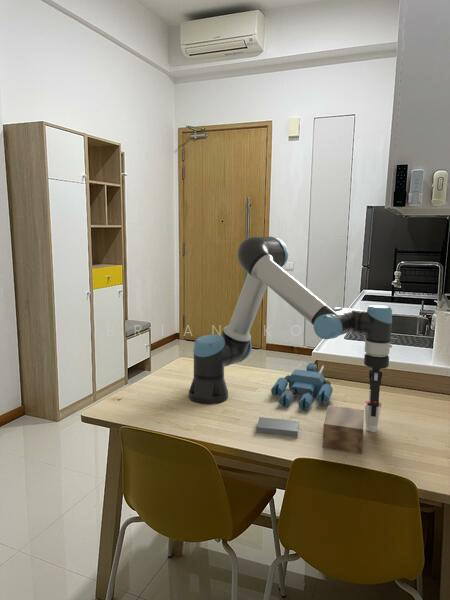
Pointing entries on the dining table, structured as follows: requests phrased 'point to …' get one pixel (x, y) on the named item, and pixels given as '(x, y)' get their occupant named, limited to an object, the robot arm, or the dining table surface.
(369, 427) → the cup
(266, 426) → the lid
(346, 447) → the brown wooden block
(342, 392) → the dining table surface
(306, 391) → the toy
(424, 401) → the dining table surface
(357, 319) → the robot arm
